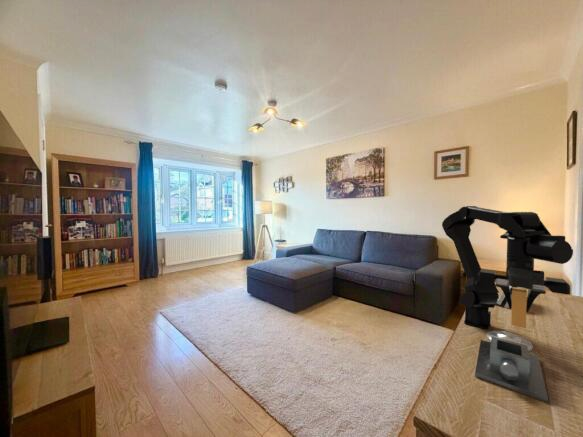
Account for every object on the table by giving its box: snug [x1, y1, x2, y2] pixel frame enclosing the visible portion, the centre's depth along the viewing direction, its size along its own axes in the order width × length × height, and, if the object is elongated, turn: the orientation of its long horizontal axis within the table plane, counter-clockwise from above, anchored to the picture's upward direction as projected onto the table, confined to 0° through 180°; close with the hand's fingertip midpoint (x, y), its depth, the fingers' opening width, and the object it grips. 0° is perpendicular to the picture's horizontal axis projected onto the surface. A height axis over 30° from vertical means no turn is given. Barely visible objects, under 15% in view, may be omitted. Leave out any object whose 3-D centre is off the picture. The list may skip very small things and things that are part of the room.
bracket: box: [474, 330, 549, 403], centre depth 62 cm, size 12×20×6 cm, turn 139°
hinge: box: [496, 285, 526, 309], centre depth 103 cm, size 17×5×10 cm, turn 126°
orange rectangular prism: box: [510, 287, 528, 329], centre depth 70 cm, size 3×4×10 cm
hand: (518, 310), depth 70 cm, fingers closed on orange rectangular prism, 3 cm apart
